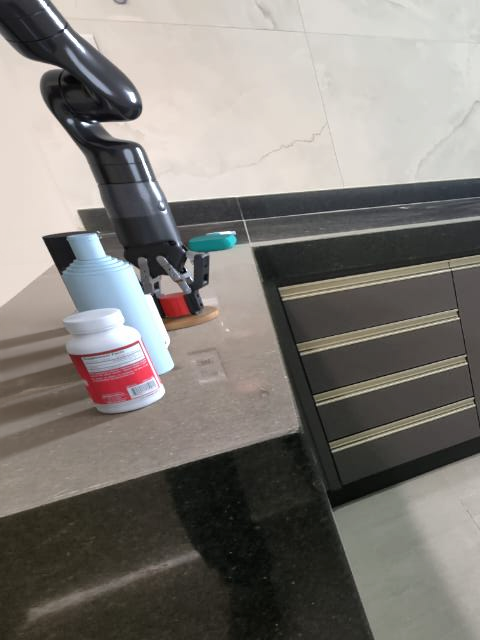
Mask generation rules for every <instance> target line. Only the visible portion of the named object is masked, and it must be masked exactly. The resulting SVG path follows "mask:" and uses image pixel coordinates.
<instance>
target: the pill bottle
mask: <svg viewBox="0 0 480 640" xmlns="http://www.w3.org/2000/svg"><path fill="white" fill-rule="evenodd" d="M70 315H71V314H70ZM70 315H68V316H66V317H64V318H63V319H62V323H63V325H64V328H65V329H66V331H67V332H68V334H69V335H70V334H71V335H72V337H70V338H69V339H68V340H67V341H66V343H65V350H66V352H67V354H68V356H69V359H70V360H71V361H72V364H73V365H74V367H75V369H76V372H77V373H78V375H79V378H80V379H81V381H82V383H83V385H84V387H85V388H86V389H85V390H86V391H87V393H88V394H89V396H90V399H91V400H92V402H93V404H94V406H95V407H96V409H97V410H98V411H99V412H100V413H102V414H121V413H122V414H123V413H128V412H131V411H135V410H139V409H142V408H145V407H147V406H148V407H149V406H150V405H152V404H154V403H155V402H158V401H159V400H160V399H162V398H163V396H164V395H165V393H166V390H165V386H164V385H163V382H162V380H161V378H160V375H159V376H158V373H157V371H156V369H155V367H154V365H153V362H152V360H151V358H150V356H149V354H148V351H147V349H146V347H145V345H144V342H143V340H142V338H141V336H140V334H139V332H138V331H137V330H135V329H134V328H131V327H128V326H124V325H123V323H124V318H123V316H122V314H121V312H120V310H119V309H116V308H105V309H96V310H90V311H85V312H81V313H77V314H74V315H71V316H70Z"/></svg>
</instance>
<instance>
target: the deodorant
mask: <svg viewBox="0 0 480 640" xmlns="http://www.w3.org/2000/svg"><path fill="white" fill-rule="evenodd" d="M87 233H94V231H93V230H74V231H66V232H59V233H52V234H45V235H43V236H41V238H42V241H43V243H44V245H45V247H46V248H47V251H48V253H49V255H50V257H51V259H52V261H53V264H54V265H55V267H56V269H57V271H58V273H59V275H60V277H61V280H62V282H63V283H64V281H63V279H62V275H63V273H62V272H63V271H65V270H66V268H67V267H69V266H70V264H71V263H74V262H73V261H74V260H76V256H75V254H74V252H73V250H72V248H71V246H70V244H69V241H68V240H67V237H68V236H71V235H78V234H87ZM64 286H65V288H66V290H67V292H68V294H69V296H70V298H71V300H72V302H73V305H74V306H75V308H76V309H77V307H76V305H75V303H74V301H73V299H72V297H71V295H70V293H69V291H68V289H67V287H66V285H65V283H64Z"/></svg>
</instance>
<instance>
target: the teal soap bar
mask: <svg viewBox="0 0 480 640" xmlns="http://www.w3.org/2000/svg"><path fill="white" fill-rule="evenodd" d="M235 235H237V233H236V231H235V230H233V231H231V230H230V231H229V230H228V231H227V230H226V231H215V232H209V233H205V234H204V235H199V236H195V237H192V238H190V239H189V241H188V243H187V248H188V250H189V251H193V252H198V253H201V252H214V251H222V250H223V251H224V250H228V249H229V250H230V249H232V248H233V247H234V245H236V244H237V238H236V236H235Z"/></svg>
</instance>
